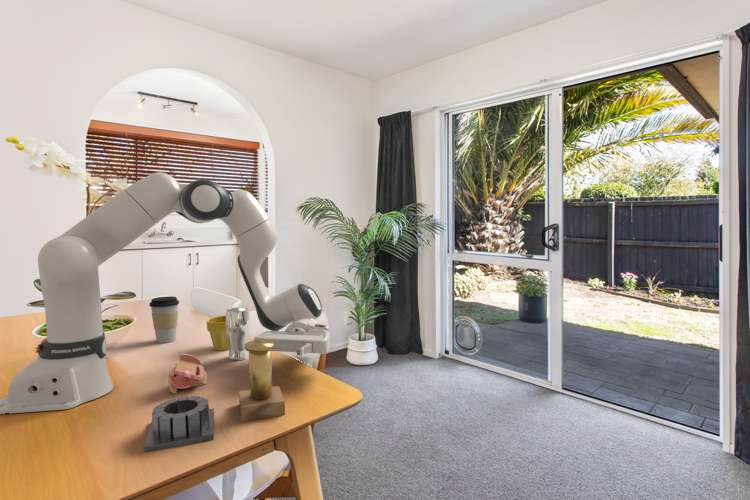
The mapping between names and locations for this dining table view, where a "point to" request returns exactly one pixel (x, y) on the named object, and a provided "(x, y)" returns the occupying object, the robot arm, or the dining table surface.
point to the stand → (261, 405)
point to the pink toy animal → (187, 373)
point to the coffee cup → (165, 318)
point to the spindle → (260, 369)
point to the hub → (180, 423)
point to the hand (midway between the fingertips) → (281, 351)
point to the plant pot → (218, 332)
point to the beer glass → (237, 332)
